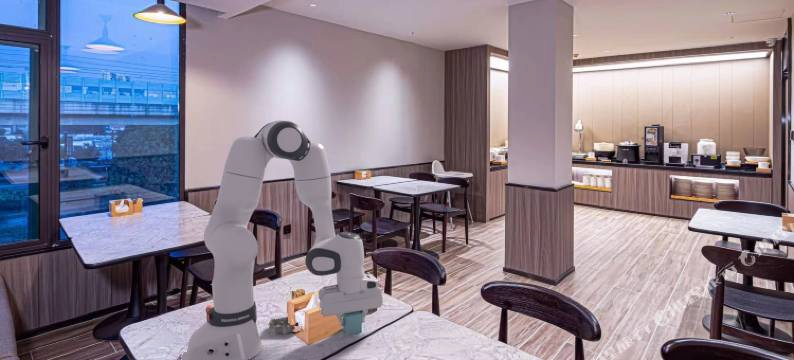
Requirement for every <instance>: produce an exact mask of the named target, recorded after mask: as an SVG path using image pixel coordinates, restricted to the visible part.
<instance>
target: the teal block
mask: <svg viewBox="0 0 794 360" xmlns="http://www.w3.org/2000/svg"><path fill="white" fill-rule="evenodd" d="M361 315H362V313H360V311H355V312H349V313H343V314H342V319H344V320H345V326H342V329H343V331H344V332H345V335H346V336H348V335H353V334H360V333H363V327H362V326H363V323H362V317H361Z"/></svg>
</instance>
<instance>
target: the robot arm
mask: <svg viewBox="0 0 794 360" xmlns="http://www.w3.org/2000/svg"><path fill="white" fill-rule="evenodd" d="M227 154H228V155H227V158H226V159H225V160H226V161H225V164H224V167H223V173H222V176H221V182H220V185H219V186H220V187H219V191H218V194H217V195H218V196H217V199H216V202H215V205H214V208H213V210H212V212H211V214H210V218H209V220H208V224H207V225H206V226H205V229H204V232H203V240H204V245H205V247H206V248H207V250H208V251H210V253H211V254H212V255H213V259H214V260H213V261H214V270H213V278H212V282H211V288H212V303H213V305H211V304H210V305H209V304H208V305H207V306H206V307H205V313H206V322H205V323H203V324H202V325H201V326H200V327H198V328H197V329H196V330H194V332H193V333H192V334H191V335H190V338H189V341H188V344H187V347H186V348H184V350H186V349H187V348H188V349H187V352H184V353H183V352H182V353H183V355H182V357H181V356H180V357H181V359H182V360H248V359H249V360H251V359H253V358H255V357H257V355H258V354H260V353H261V351H262V350H263V347H264V345H263V342H262V341H261V337H260V334H259V330H258V327H257V319H258V312H257V305H256V301H255V298H254V295H255V294H254V269H255V262H256V257H257V256H258V252H259V244H258V241H257V239H256V237H255V235H254V234H253V232H252V231H251V230H249V229H248V225H249V222H250V220H251V217H252V215H253V213H254V212H255V210H256V209H257V207H258V205H259V201H260V196H261V192H262V187H263V183H264V178H265V172H266V168H267V165H268V163H269V162H270V161H271V159H273V158H275V159H280V160H281V159H283V160H288V161H289V162H290V164H291V165H292V166H291V167H292V169H293V177H294V185H295V190H296V194H297V197H298V199H299V201H300V202H301V203H302V204H304V205H306V206H307V207H308V208H309V209H310V211H311V212H312V217H313V222H314V228H315V236H316V237H315V239H314V243H313V245H312V247H310V249H309V250H308V252H307V254H306V256H305V259H304V261H305V262H304V263H305V267H306V269H307V270H308V272H310V273H311V274H312V275H315V276H318V277H323V276H330V275H334V274H336V284H333V285H328V286H327V285H326V286H322V287H321V288H320V289H319V291H318V300H319V309H320V308H321V313H320V315H321V314H322V315H323V316H322V315H321V316H322V317H331V316H335V317H336V318H337V319H338V320H339V321H338V322H339V327H343V326H345V320H344V319H343V318H342V315H343V313H349V312H355V311H361V310H362V311H363V312H362V313H361V317H362V324H363V323H365V322H366V321H365V317H366V316H367V314H368V313H369V312H368V309H373V308H377V309H378V308H381V307H382V306H383V303H384V302H383V299H384V298H383V293H382V290H381V288H380V282H379V280H378V279H377V278H376V277H375V275H373V274H372V275H371V274H368V273H365V269H364V262H365V251H364V249H365V248H364V244H363V239H362V238H361V236H360V235H359V234H357V233H355V232H350V231H343V232H342V231H341V232H339V233H338V234H337V233H336V229H335V222H334V215H333V209H332V193H333V192H332V176H331V168H330V162H329V160H328V155H327V152H326V148H325V147H324V145H323V144H321V143H320V142H317V141H315V140H310V139H309V138H308V137H307V135H306V134H305V132H304V130H303V128H301V127H300V126H299V125H298V124H297V123H294V122H293V121H289V120H275V121H272V122H269V123H267V124H265V125H264V126H262V128H261V129H259V131H258V132H257V133H256V134H254V136H247V135H246V136H240V137H238V138H236V139H235V140H234V141H233V142H232V145H231V146H230V148H229V151H228V153H227ZM254 356H255V357H254ZM181 359H180V358H179V360H181Z"/></svg>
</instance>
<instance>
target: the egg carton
mask: <svg viewBox="0 0 794 360" xmlns="http://www.w3.org/2000/svg"><path fill="white" fill-rule="evenodd" d="M267 325H268V333H269V334H271V333H272V335H273V336H274V334H275V335H277V334H279V332H280V333H281V334H283V335H287V334H288V333H293V330H294V329H295V327H294V326H296V325H297V324H296V325H293V326H292V325H289V324H288V316H285V317H278V318H271V319H270V321H269V322H268V324H267ZM276 333H277V334H276Z"/></svg>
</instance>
